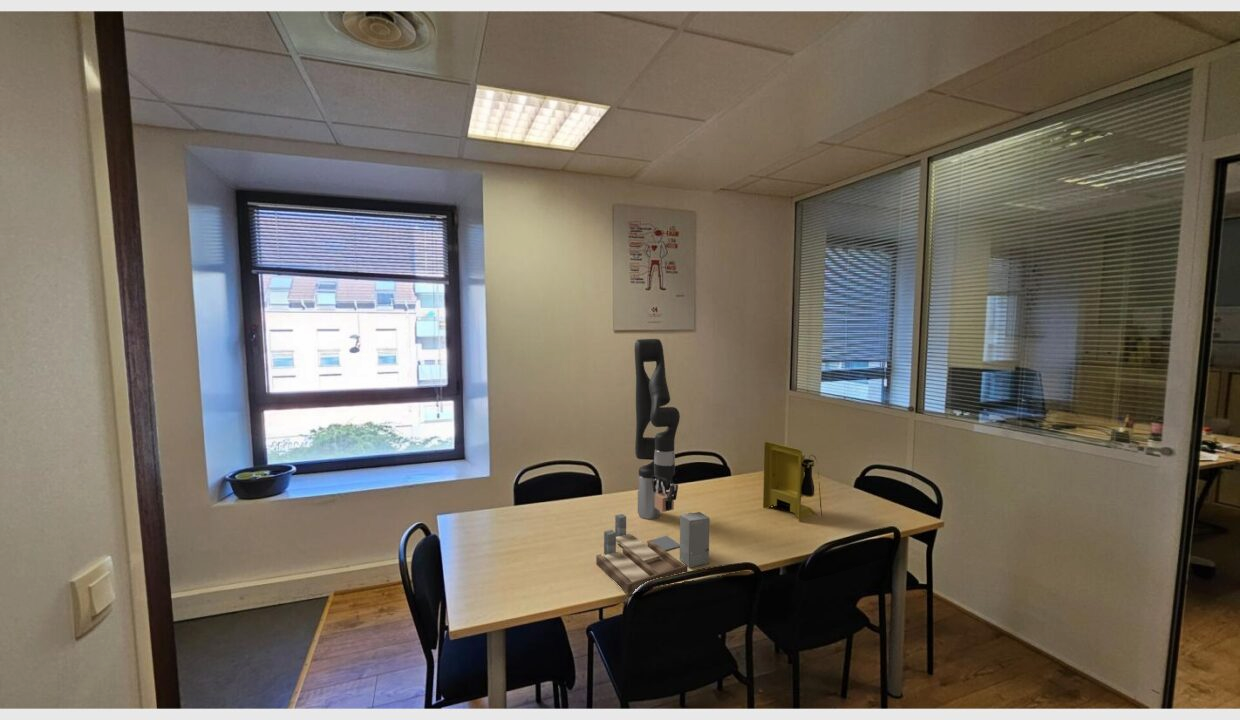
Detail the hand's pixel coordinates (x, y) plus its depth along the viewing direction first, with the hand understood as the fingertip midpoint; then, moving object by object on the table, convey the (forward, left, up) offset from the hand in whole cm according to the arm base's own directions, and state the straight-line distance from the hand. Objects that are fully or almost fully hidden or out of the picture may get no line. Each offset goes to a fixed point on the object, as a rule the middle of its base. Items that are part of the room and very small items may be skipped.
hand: (664, 507), depth 166 cm
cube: (0, 0, 0) cm, 0 cm away
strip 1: (-1, -12, -13) cm, 18 cm away
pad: (0, 0, -14) cm, 14 cm away
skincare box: (+15, +2, -14) cm, 21 cm away
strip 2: (+9, -22, -13) cm, 27 cm away
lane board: (+11, -17, -14) cm, 24 cm away
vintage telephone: (+3, +66, -14) cm, 68 cm away
